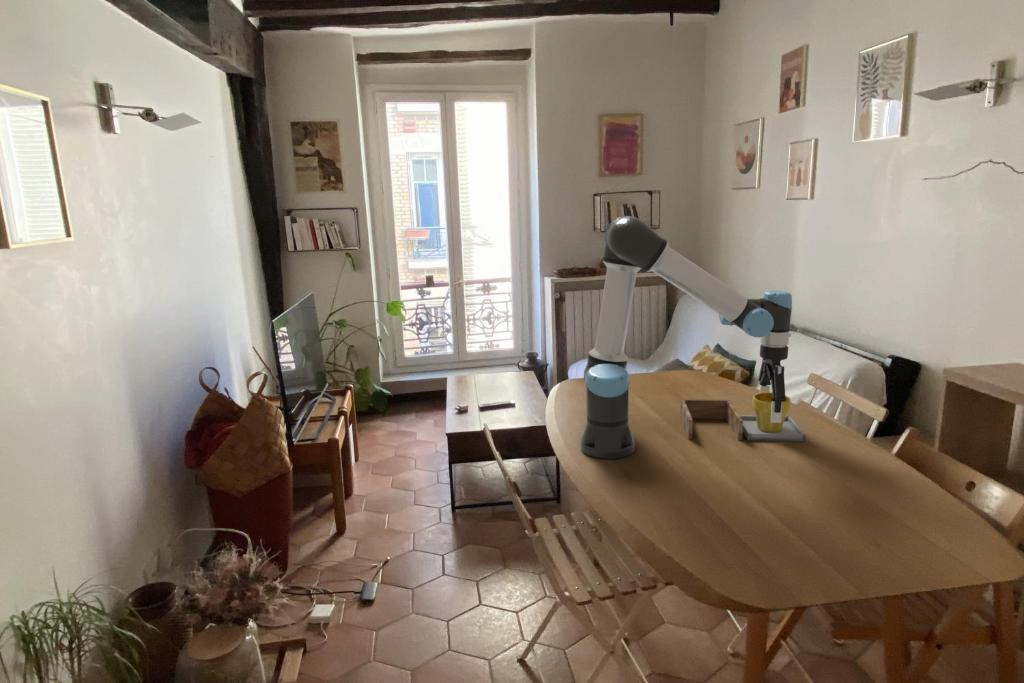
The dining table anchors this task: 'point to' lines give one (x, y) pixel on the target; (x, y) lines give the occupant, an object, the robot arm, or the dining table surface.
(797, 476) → the dining table surface
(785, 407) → the plant pot
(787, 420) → the tray
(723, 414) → the box
